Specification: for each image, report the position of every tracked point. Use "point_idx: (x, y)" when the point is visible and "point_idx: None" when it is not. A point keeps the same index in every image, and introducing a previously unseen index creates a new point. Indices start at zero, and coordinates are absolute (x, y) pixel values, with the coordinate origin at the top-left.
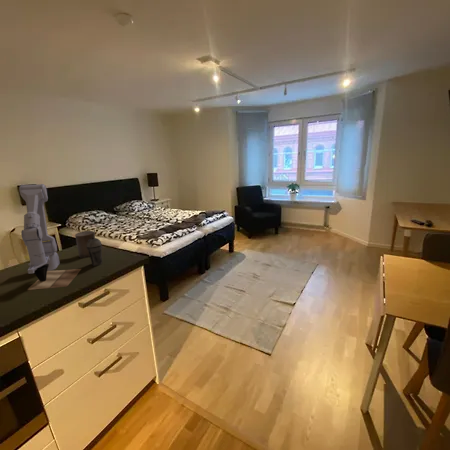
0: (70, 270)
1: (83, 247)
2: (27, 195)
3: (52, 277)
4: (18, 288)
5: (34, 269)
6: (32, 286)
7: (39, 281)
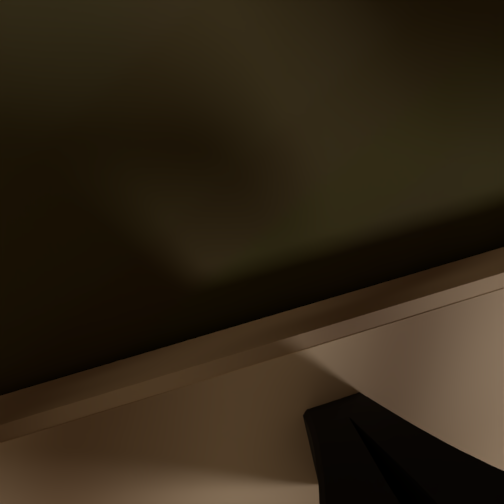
0: None
1: None
2: None
3: None
4: (98, 40)
5: None
6: (71, 449)
7: (301, 404)
